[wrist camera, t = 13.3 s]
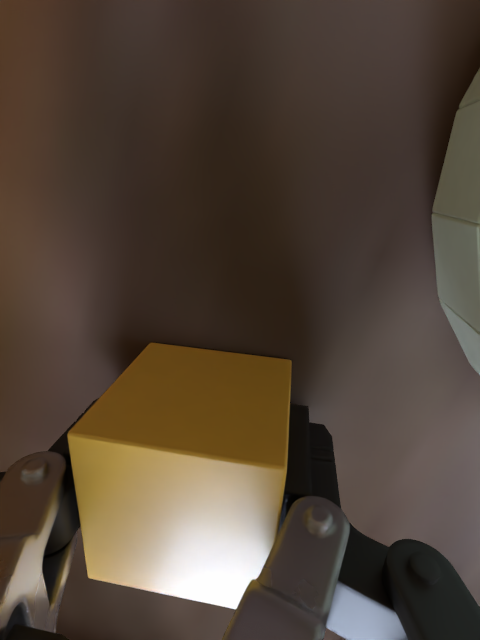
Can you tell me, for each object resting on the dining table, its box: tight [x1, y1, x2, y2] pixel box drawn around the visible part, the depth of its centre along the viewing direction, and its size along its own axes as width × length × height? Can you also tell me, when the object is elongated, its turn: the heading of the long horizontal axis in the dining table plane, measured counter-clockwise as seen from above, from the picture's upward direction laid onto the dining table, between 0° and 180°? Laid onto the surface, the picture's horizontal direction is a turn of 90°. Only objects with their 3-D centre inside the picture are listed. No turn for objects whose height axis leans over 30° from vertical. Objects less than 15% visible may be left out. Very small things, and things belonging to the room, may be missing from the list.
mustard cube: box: [67, 343, 292, 609], centre depth 10 cm, size 5×5×5 cm
